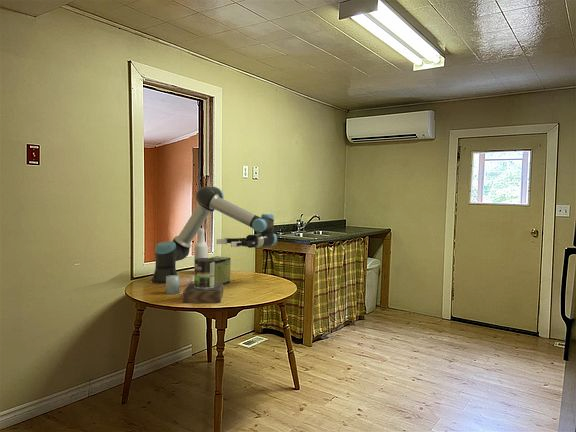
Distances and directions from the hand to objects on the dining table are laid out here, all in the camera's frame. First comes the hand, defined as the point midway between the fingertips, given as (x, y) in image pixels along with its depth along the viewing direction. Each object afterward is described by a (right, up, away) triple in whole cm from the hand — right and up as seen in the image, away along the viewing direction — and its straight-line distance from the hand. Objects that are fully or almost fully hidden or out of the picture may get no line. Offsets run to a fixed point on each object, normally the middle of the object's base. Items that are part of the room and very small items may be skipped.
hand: (223, 243), depth 234 cm
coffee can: (-8, -21, -16) cm, 28 cm away
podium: (-8, -27, -16) cm, 32 cm away
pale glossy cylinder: (-27, -26, -5) cm, 38 cm away
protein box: (-7, -26, +18) cm, 32 cm away
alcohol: (-23, -24, +51) cm, 61 cm away
